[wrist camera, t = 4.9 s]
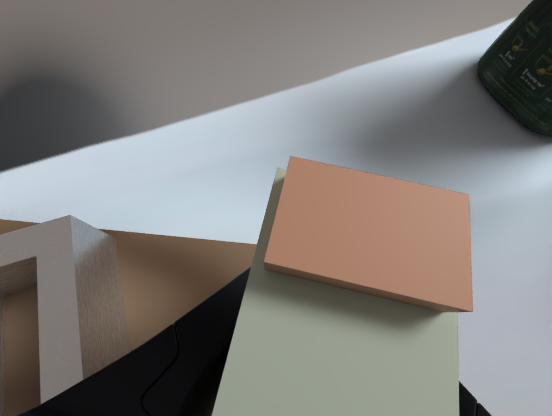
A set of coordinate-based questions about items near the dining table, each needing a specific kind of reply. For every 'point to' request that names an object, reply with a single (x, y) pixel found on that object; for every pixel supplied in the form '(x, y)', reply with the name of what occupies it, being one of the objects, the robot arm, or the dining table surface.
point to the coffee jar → (523, 67)
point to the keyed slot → (66, 299)
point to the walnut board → (125, 297)
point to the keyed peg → (351, 299)
